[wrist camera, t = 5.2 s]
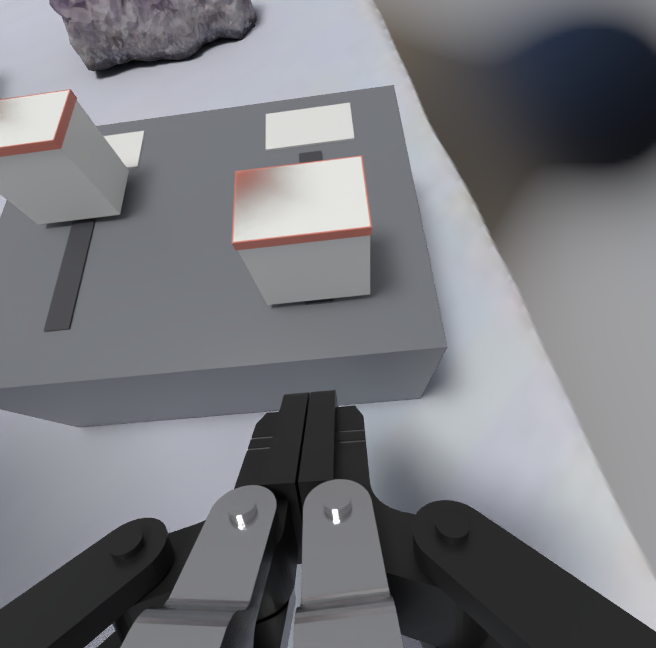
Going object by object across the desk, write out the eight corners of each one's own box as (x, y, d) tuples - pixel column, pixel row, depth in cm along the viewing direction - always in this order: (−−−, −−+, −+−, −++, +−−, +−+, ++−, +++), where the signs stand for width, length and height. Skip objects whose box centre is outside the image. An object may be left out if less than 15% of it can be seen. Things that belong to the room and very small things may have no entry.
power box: (420, 398, 23) (447, 345, 15) (78, 427, 25) (-67, 393, 17) (387, 196, 30) (393, 83, 22) (118, 228, 31) (29, 133, 23)
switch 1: (120, 215, 19) (54, 140, 15) (36, 225, 20) (-51, 154, 16) (130, 169, 21) (70, 89, 17) (51, 179, 21) (-27, 103, 17)
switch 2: (371, 295, 16) (371, 227, 12) (266, 306, 16) (231, 243, 12) (364, 235, 17) (362, 155, 13) (266, 246, 18) (235, 171, 14)
